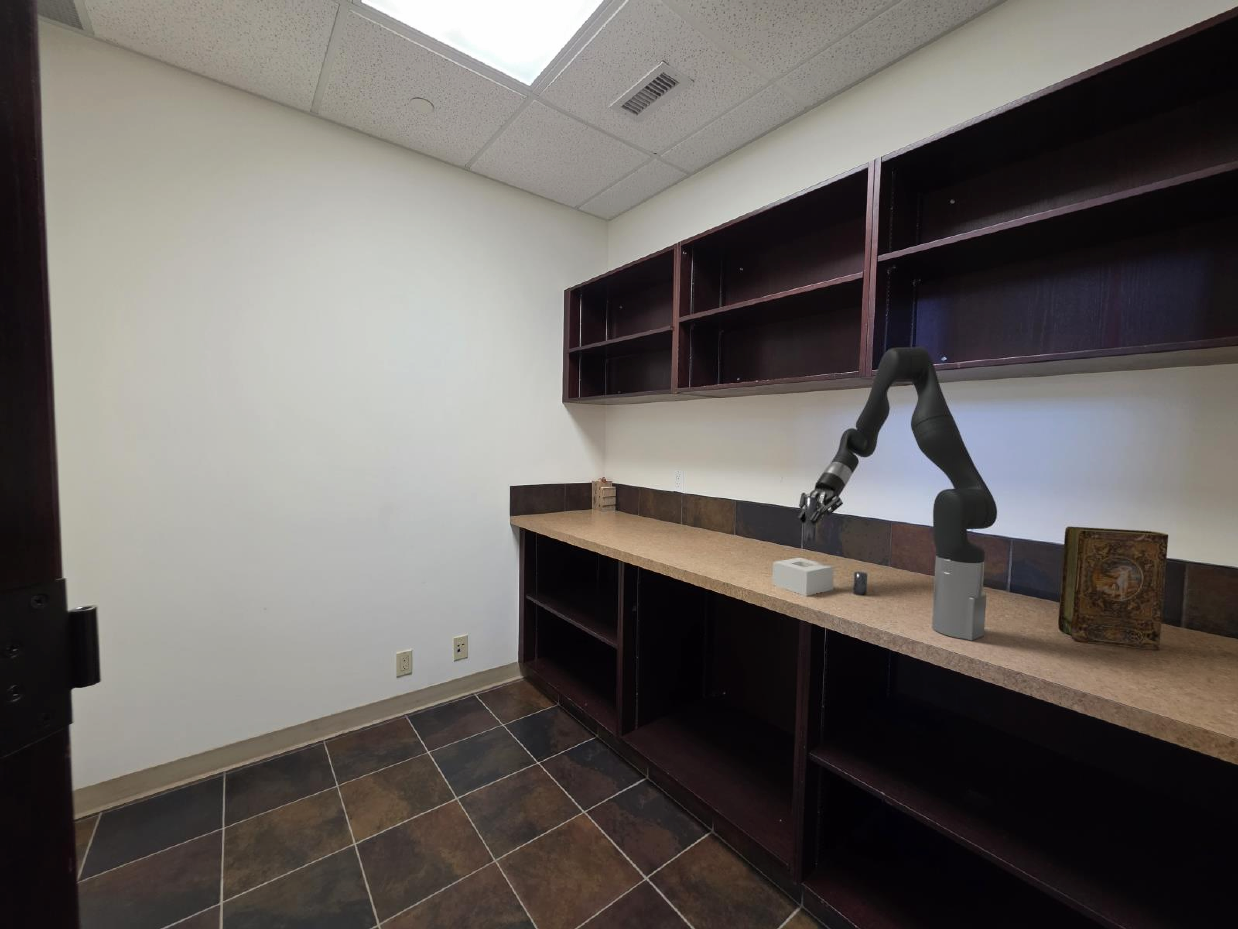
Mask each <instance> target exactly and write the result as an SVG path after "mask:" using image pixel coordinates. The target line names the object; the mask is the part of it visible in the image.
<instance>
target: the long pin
mask: <svg viewBox="0 0 1238 929" xmlns="http://www.w3.org/2000/svg"><path fill="white" fill-rule="evenodd" d="M817 502H818V498H817V497H805V522H804V523H803V524H804V526H803V529H804V530H803V541H805V542H810V543H816V542H817V532H818V530H817V526H818V525H817V524H818V522H817V523H816V524H815V525H812V524H811V523H810V521H809V520H810V518H811V517H812V515H813V514H814V512H815V511H817V508H818V507H817Z"/></svg>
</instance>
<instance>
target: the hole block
mask: <svg viewBox="0 0 1238 929" xmlns="http://www.w3.org/2000/svg"><path fill="white" fill-rule="evenodd" d="M834 567H835V566H834V565H830V564H826V563H821V562H817V561H814V560H810V559H807V558H802V557H796V558H790V559H784V560H776V561H773V562H772V581H771V582H772V584H771V585H772V586H774V585H775V586H774V587H777V588H780V589H784V590H786V589H787V590H786V591H789V592H792V593H795V592H796V593H795V594H798V593H799V594H798V595H802V596H805V597H808V596H813V594H814V595H817V594H816V593H818V594H821V593H820V592H822V593H826V592H830V590H831V591H834V569H835V568H834Z"/></svg>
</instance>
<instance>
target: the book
mask: <svg viewBox="0 0 1238 929" xmlns="http://www.w3.org/2000/svg"><path fill="white" fill-rule="evenodd" d="M1063 542H1064V543H1063V553H1062V554H1063V556H1062V565H1061V566H1062V568H1061V578H1060V579H1061V582H1060V592H1059V593H1060V594H1059V595H1060V596H1059V608H1058V621H1057V622H1058V625H1057V627H1058V630H1059V631H1060V632H1061V633H1064V634H1066V635H1069V636H1071V639H1072V640H1074V641H1076V642H1082V643H1089V644H1095V645H1107V646H1114V647H1124V648H1133V649H1142V650H1151V651H1160V645H1161V633H1162V621H1163V606H1164V595H1165V583H1166V582H1165V581H1166V573H1167V572H1166V570H1167V568H1166V567H1167V558H1168V557H1167V556H1168V547H1169V546H1168V544H1169V534H1166V533H1164V532H1158V531H1151V530H1138V529H1137V530H1136V529H1120V528H1101V527H1100V528H1099V527H1083V526H1067V527H1065V531H1064V541H1063Z"/></svg>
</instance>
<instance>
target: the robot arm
mask: <svg viewBox="0 0 1238 929" xmlns="http://www.w3.org/2000/svg"><path fill="white" fill-rule="evenodd" d="M894 383H912V384H913V386H914V389H915V390H916V395H917V402H916V404H915V407H914V410H913V412H912V416H911V420H910V428H911V431H912V435H913V437H914V439H915V442H916V445H917V446H918V449H919V450H920V451H921V452H922V454H923V455H924V456H925V457H926V458H927V459H928V460H930V461H931V462H932V464H934V465H935V466H936V467H937V468H938V469H940V471H942V472H943V473H944V475H946V477H947V478H948V480H949V481H950V483H951V485H952V487H953V488H947V489H946V488H945V489H942V490H941V491H940V492H938V493H937V495H936V497H935V499H934V501H933V502H934V503H933V509H932V524H933V526H932V528H933V529H932V530H933V531H932V534H933V536H932V537H933V544H934V546H935V563H934V564H935V566H934V581H933V583H934V585H933V602H932V618H931V619H932V622H931V628H932V629H933V630H935V631H936V632H938V633H939V634H943V635H946V636H949V637H952V638H958V639H964V640H968V641H975V640H976V639H979V638H981V637H983V636H985V626H986V605H987V594H985V593H983V590H984V574H985V573H984V572H985V558H986V556H985V555H986V554H985V553H986V552H985V549H984V548H982V547H981V546H979V545H976V544H974V543H972V542H971V541H969V539H968V530H982V529H983V530H984V529H988V528H990V527H992V526H993V525H994V524H995V522H996V521H997V518H998V508H997V504H996V503H997V502H996V501H995V498H994V497H993V494H992V492H991V490H990V489H989V488H988V486H987V484H986V483H985V481H984V478H983V477H982V475H981V474H980V472H979V470H978V469H977V467H976V465H975V463H974V462H973V460H972V457H971V455H970V453H969V451H968V448H967V447H966V444H965V443H964V440H963V437H962V435H961V432H960V429H959V427H958V425H957V423H956V420H955V417H954V416H953V413H951V409H950V408H949V405H948V403H947V401H946V398H945V396H944V394H943V391H942V388H941V386H940V382H939V377H938V375H937V371H936V368H935V364H934V362H933V359H932V356H931V354H930V352H929V351H928V350H927V349H925V348H923V347H920V346H914V347H913V346H911V347H910V346H909V347H907V346H906V347H903V346H902V347H901V346H900V347H893V348H889V349H888V350H887V351H885V353H883V355H882V357H881V359H880V362H879V365H878V368H877V369H876V373H875V376H874V379H873V383H872V386H871V389H870V392H869V396H868V397H867V398H868V399H867V401H866V403H865V405H864V407H863V408H862V410H861V413H860V414H859V416H858V418H857V420H856V422H855V428H853V427H852V428H847V429H845V431H843V433H842V435H841V437H840V441H839V446H838V450H837V452H836V454H835V456H834V457H833V459H832V460H831V462H830V463H829V465H827V467H826V468H825V469H824V470H823V472H822V474H821V475H820V477H819V478H818V479H817V481H816V483H815V484H814V485H815V486H814V489H813V490H812V491H811V492H810V493H807V494H806V492H802V493H801V494H800V499H799V502H798V503H799V504H798V507H799V509H801V512H800V513H799V515H798V516H797V519H798V521H799V522H800V524H805V497H817V498H818V502H817V511H815V512H814V514H813V515H812V517H811V518H810V520H809V521H810V523H811V524H812V525H815V524H816V523H817V524H818V522H819V521H820V520H821V518H822V517H824V516H830V515H831V514H833V512H834V513H835V511H837V509H838V508H840V507H841V506H843V504H844V502H843V500H842V499H841V498H840V495H841V493H842V492H843V491H844V489H845V488H846V486H847V484H848V483H849V481H850V479H851V477H852V475H853V474H854V472H855V470H856V469H857V467H858V465H859V463H860V462H859V457H860V458H868V457H870V456H872V455H873V454H874V452H875V451H876V448H877V444H878V437H879V433H880V431H881V429H882V428H883V426H884V424H885V422H886V421H887V419H888V417H889V415H890V410H891V407H890V402H889V398H888V392H889V389H890V388H891V387H892V385H893V384H894Z"/></svg>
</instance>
